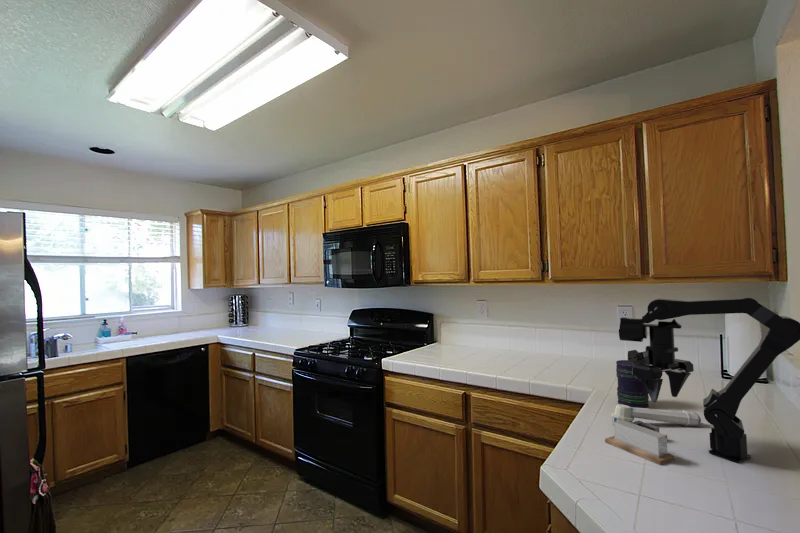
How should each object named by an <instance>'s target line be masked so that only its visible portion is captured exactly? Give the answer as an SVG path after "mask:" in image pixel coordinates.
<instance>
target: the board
mask: <svg viewBox="0 0 800 533" xmlns="http://www.w3.org/2000/svg"><path fill="white" fill-rule="evenodd" d="M604 443H606V444H609V445H612V446H614V447H616V448H618V449H620V450H622V451H626V452H628V453H630V454H633V455H634V456H638V457H640V458H642V459H645V460H647V461H649V462H653V463H655V464H657V465H660V466H661V465H664V464H668V463H671V462H672V461H675V460H676V458H675V457H676V456H675V455H674V454H671V453H669V452H667V455H666V456H663V457H660V458H658V457H655V456H653V455H650V454H648V453H645V452H643V451H640V450H638V449H635V448H633V447H630V446H628V445H625V444H623V443H620V442H618V441H615V435H613V436H609V437H607V438H606V437H605V439H604Z"/></svg>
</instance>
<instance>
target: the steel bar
mask: <svg viewBox="0 0 800 533" xmlns="http://www.w3.org/2000/svg"><path fill="white" fill-rule="evenodd" d="M613 430H614V433H613V434H614V435H613V436H615V441H618V442H620V443H623V444H625V445H628V446H630V447H633V448H635V449H638V450H640V451H643V452H645V453H648V454H650V455H653V456H655V457H658V458H660V457H663V456H666V455H667V453H668V439H667V438H668V436H667V434H664V433H662V432H660V431H659V432H656V431H653V430H650V429H647V428H644V427H641V426H638V425H636V424H633V423H630V422H627V421H624V420H620V421H616V422H614V423H613Z"/></svg>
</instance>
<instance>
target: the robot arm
mask: <svg viewBox="0 0 800 533" xmlns="http://www.w3.org/2000/svg"><path fill="white" fill-rule="evenodd" d="M726 314H727V315H728V314H746V315H748V316H749V317H751V318H752V319H754V320H756V321H757V322H759V323H760V324H762V325H763V326H765V328H764V330H763V332H762V334H761V338H760V340H759V342H758V345H757V347H756V348H754V350H753V351H752V352H751V354H750V355H749V356H748V357H747V359H746V360H745V361H744V363H742V365H741V366H740V368H738V370H737V371H736V373H735V374H734V375H733V376H732V377H731V379H730V381H729V382H728V383H727V384H726V385H725V386H724V387H723V388H722V389H720V390H719V391H716V389H714V388H711V390H710V392H709V394H708V395H707V396H706V397H705V398H703V399H702V402H703V416H704V419H705V420H706V422H707V423H709V424H710V425H712V427H711V428H710V430H711V432H709V447H710V449H709V450H708V453H709V454H711V455H715V456H717V457H719V458H723V459H725V460H729V461H731V462H735V463H741V462H742V463H743V461H746V460H749V459H751V458H752V455H751V454H749V453H748V441H747V440H748V439H747V438H748V437H747V436H748V435H747V433H745V428H744V424H743V420H742V419H740V418H739V417H738V416H737V413H738V410H739V407H740V406H741V402H742V400H743V398H744V397H745V396H746V395H747V394H748V392H749V391H750V390H751V389H752V388H753V386H754V385H755V384H756V382H757V381H758V380H759V379H760V378H761V377H762V375H763V374H764V373H765V372H766V370H767V369H768V368H769V367H770V366H771V364H772V363H773V362H774V361H775V359H776V358H777V357H779V355H781V354H783V353H784V352H786V351H787V350H789V349H790V348H791V347H793V346H794V345H795V344H797V343H798V342H799V341H800V322H799V321H798V320H796V319H794V318H792V317H789V316H785V315H779V314H777V313H775V312H774V311H773V310H770V309H769V308H767V307H766V306H764V305H763V304H760V303H759V302H758V301H757V299H754V298H753V297H748V296H747V297H746V296H745V297H741V298H740V297H739V298H726V299H725V298H724V299H723V298H721V299H720V298H719V299H703V300H702V299H701V300H682V299H681V300H679V299H671V298H655V299H654V300H651V301H650V302H649V303H648V305H647V312H646V313H645V315H642V316H641V318H632V317H620V318H619V320H620V322H619V328H618V338H619V341H625V342H628V341H629V342H638V343H642V342H643V341H644V340H645V339H646V340H647V339H648V334H649V345H646V346H645V351H641V352H640V351H638V350H637V349H632V350H628V351H627V360H629V361H630V362H632V363H633V365H635V366H633V367H632V375H635V376H636V377H637V378H639V379H641V380H642V381H643V382H644V384H645V386H646V388H647V391H648V393H649V394H648V396H649V399H650V401H651V402H652V403H657V401H658V399H659V395H660V391H661V388H662V384H663V381H664V379H663V378H662V376H663V373H665V374H666V375H667V377H668V382H669V388H670V394H671V397H673V398H677V397H678V395H679V393H680V392H681V390H682V389H683V386H684V385H685V383H686V381H687V379H688V378H689V376H690V375H691V374H692V372H694V364H693V363H692V362H691V361H690V360H686V359H680V358H679V359H678V358H676V354H675V353H676V352H679V347H675V331H674V329H679V330H680V329H682V327H683V326H682V324H680V323H679V322H678V321H677V319H676V318H679V317H685V316H693V315H694V316H695V315H726ZM669 319H672V320H671V321H666V320H669ZM656 320H657V323H655V324H654V323H652V322H654V321H656ZM664 320H665V321H664ZM651 323H652V324H651ZM648 328H649V329H648ZM648 331H649V333H648ZM638 363H639V365H636V364H638ZM642 363H645V364H642ZM646 364H647V365H646Z"/></svg>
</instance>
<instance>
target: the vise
mask: <svg viewBox="0 0 800 533" xmlns="http://www.w3.org/2000/svg"><path fill="white" fill-rule="evenodd" d="M631 423H633V424H636V425H638V426H641V427H644V428H647V429H650V430H653V431H656V432H659V433H660V427H659V426H657V425H653V424H651V423H648V422H644V421H641V420H634V421H632V422H631Z"/></svg>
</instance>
